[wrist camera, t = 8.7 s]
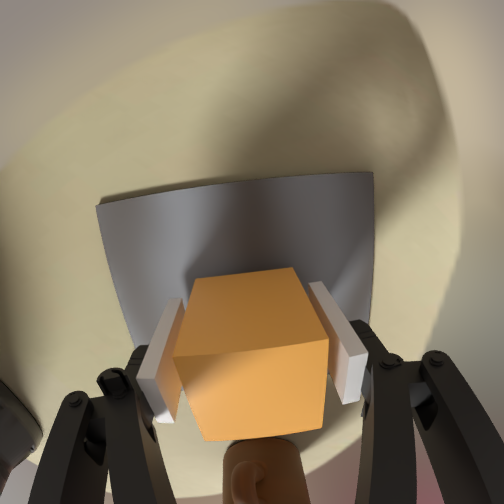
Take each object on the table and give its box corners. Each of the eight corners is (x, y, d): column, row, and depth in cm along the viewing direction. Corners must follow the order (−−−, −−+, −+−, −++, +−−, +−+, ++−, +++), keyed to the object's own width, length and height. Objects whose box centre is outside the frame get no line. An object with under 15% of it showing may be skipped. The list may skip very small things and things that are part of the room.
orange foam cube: (195, 278, 15) (172, 356, 9) (292, 267, 15) (328, 338, 9) (212, 354, 17) (204, 441, 10) (295, 344, 17) (321, 427, 10)
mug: (193, 415, 20) (183, 512, 11) (283, 399, 20) (303, 501, 11) (235, 472, 24) (238, 542, 15) (303, 460, 24) (318, 531, 15)
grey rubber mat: (154, 387, 19) (132, 464, 12) (98, 204, 15) (18, 238, 8) (360, 363, 19) (398, 433, 12) (370, 171, 15) (454, 186, 8)
